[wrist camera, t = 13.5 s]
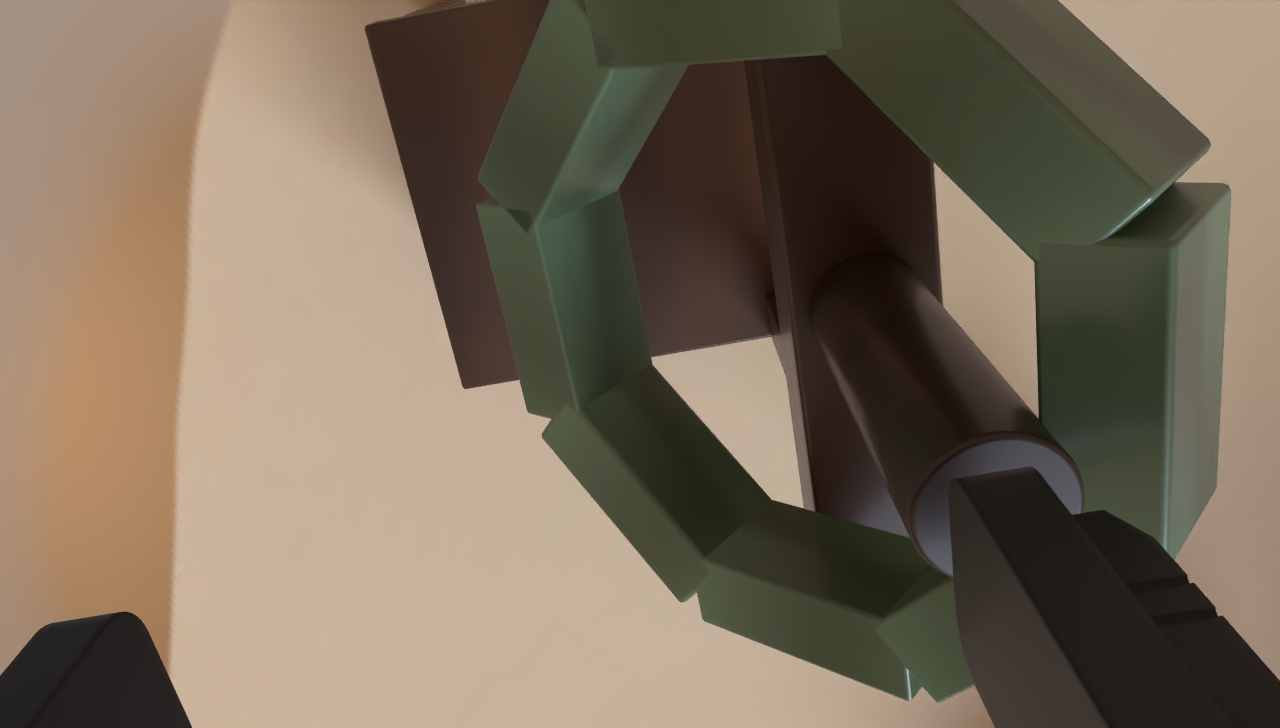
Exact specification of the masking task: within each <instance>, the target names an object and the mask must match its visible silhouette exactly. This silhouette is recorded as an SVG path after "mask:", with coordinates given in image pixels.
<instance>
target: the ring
mask: <svg viewBox="0 0 1280 728" xmlns="http://www.w3.org/2000/svg"><path fill="white" fill-rule="evenodd" d="M817 55H827V56H828V57H829V58H830V59H831V60H832V61H833V62H834V63H835V64H836V65H837V66H838V67H839V68H840V69H841V70H842V71H843V72H844V73H845V74H846V75H847V76H848V77H849V78H850V79H851V80H852V81H853V82H854V83H855V84H856V85H857V86H858V87H859V88H860V89H861V90H862V91H863V92H864V93H865V94H866V95H867V96H868V97H869V98H870V99H871V100H872V101H873V102H874V103H875V104H876V105H877V106H878V107H879V108H880V109H881V110H882V111H883V112H884V113H885V114H886V115H887V116H888V117H889V118H890V119H891V120H892V121H893V122H894V123H895V124H896V125H897V126H898V127H899V128H900V129H901V130H902V131H903V132H904V133H905V134H906V135H907V136H908V137H909V138H910V139H911V140H912V141H913V142H914V143H915V144H916V145H917V146H918V147H919V148H920V149H921V150H922V151H923V152H924V153H925V154H926V155H927V156H928V157H929V158H930V159H931V160H932V161H933V162H934V163H935V164H936V165H937V166H938V167H939V168H940V169H941V170H942V171H943V172H944V173H945V174H946V175H947V176H948V177H949V178H950V179H951V180H952V181H953V182H954V183H955V184H956V185H957V186H958V187H959V188H960V189H961V190H962V191H963V192H964V193H965V194H966V195H967V196H968V197H969V198H970V199H971V200H973V201H974V202H975V203H976V204H977V205H978V206H979V207H980V208H981V209H982V210H983V211H984V212H985V213H986V214H987V215H988V216H989V217H990V218H991V219H992V220H993V221H994V222H995V223H996V224H997V225H998V226H999V227H1000V228H1001V229H1002V230H1003V231H1004V232H1005V233H1006V234H1007V235H1008V236H1009V237H1010V238H1011V239H1012V240H1013V241H1014V242H1015V243H1016V244H1017V245H1018V246H1019V247H1020V248H1021V249H1022V250H1023V251H1024V252H1025V253H1026V254H1027V255H1028V256H1029V257H1030V258H1031V259H1032V260H1033V261H1034V263H1035V298H1036V333H1037V368H1038V403H1039V420H1040V421H1041V422H1042V424H1043V425H1044V426H1045V427H1046V428H1047V429H1048V431H1049V432H1050V433H1051V434H1052V435H1053V437H1054V438H1055V439H1056V440H1057V441H1058V442H1059V444H1060V445H1061V446H1062V447H1063V448H1064V449H1065V451H1066V452H1067V453H1068V454H1069V455H1070V457H1071V458H1072V459H1073V461H1074V462H1075V464H1076V465H1077V467H1078V469H1079V472H1080V474H1081V477H1082V481H1083V485H1084V509H1083V513H1086V512H1092V511H1098V510H1105V511H1107V512H1109V513H1111V514H1112V515H1114V516H1116V517H1118V518H1120V519H1121V520H1123V521H1125V522H1127V523H1129V524H1131V525H1132V526H1134V527H1136V528H1138V529H1140V530H1141V531H1143V532H1145V533H1147V534H1149V535H1151V536H1152V537H1154V538H1155V539H1156V540H1157V541H1158V542H1159V543H1160V545H1161V546H1162V547H1163V548H1164V549H1165V550H1166V551H1167V553H1168V554H1169V555H1170V556H1171V557H1172V558H1173V559H1175V557H1176V555H1177V554H1178V552H1179V550H1180V549H1181V547H1182V545H1183V544H1184V542H1185V540H1186V539H1187V537H1188V535H1189V533H1190V532H1191V530H1192V528H1193V527H1194V525H1195V523H1196V522H1197V520H1198V518H1199V517H1200V515H1201V513H1202V511H1203V510H1204V508H1205V506H1206V505H1207V503H1208V501H1209V500H1210V498H1211V496H1212V495H1213V493H1214V491H1215V489H1216V487H1217V467H1218V447H1219V427H1220V407H1221V387H1222V367H1223V347H1224V327H1225V307H1226V287H1227V267H1228V246H1229V226H1230V206H1231V190H1230V187H1229V185H1226V184H1223V183H1184V182H1175V181H1176V180H1177V179H1178V178H1180V177H1181V176H1182V175H1183V174H1184V173H1185V172H1186V171H1187V170H1188V169H1189V168H1190V167H1191V166H1193V165H1194V164H1195V163H1196V162H1197V161H1198V160H1199V159H1200V158H1201V157H1202V156H1203V155H1204V154H1205V153H1207V152H1208V150H1209V148H1210V146H1211V143H1210V141H1209V139H1208V138H1207V137H1206V136H1205V135H1204V134H1203V133H1202V132H1201V131H1199V130H1198V129H1197V128H1196V127H1195V126H1194V125H1193V124H1192V123H1191V122H1190V121H1189V120H1187V119H1186V118H1185V117H1184V116H1183V115H1182V114H1181V113H1180V112H1179V111H1178V110H1177V109H1176V108H1174V107H1173V106H1172V105H1171V104H1170V103H1169V102H1168V101H1167V100H1166V99H1165V98H1164V97H1162V96H1161V95H1160V94H1159V93H1158V92H1157V91H1156V90H1155V89H1154V88H1153V87H1152V86H1150V85H1149V84H1148V83H1147V82H1146V81H1145V80H1144V79H1143V78H1142V77H1141V76H1140V75H1139V74H1137V73H1136V72H1135V71H1134V70H1133V69H1132V68H1131V67H1130V66H1129V65H1128V64H1127V63H1125V62H1124V61H1123V60H1122V59H1121V58H1120V57H1119V56H1118V55H1117V54H1116V53H1115V52H1113V51H1112V50H1111V49H1110V48H1109V47H1108V46H1107V45H1106V44H1105V43H1104V42H1103V41H1102V40H1100V39H1099V38H1098V37H1097V36H1096V35H1095V34H1094V33H1093V32H1092V31H1091V30H1090V29H1088V28H1087V27H1086V26H1085V25H1084V24H1083V23H1082V22H1081V21H1080V20H1079V19H1078V18H1077V17H1075V16H1074V15H1073V14H1072V13H1071V12H1070V11H1069V10H1068V9H1067V8H1066V7H1065V6H1063V5H1062V4H1061V3H1060V2H1059V1H1058V0H550V1H549V3H548V5H547V8H546V10H545V13H544V15H543V18H542V20H541V23H540V25H539V27H538V30H537V32H536V35H535V37H534V40H533V42H532V45H531V47H530V50H529V52H528V54H527V57H526V59H525V62H524V64H523V67H522V69H521V72H520V74H519V76H518V79H517V81H516V84H515V86H514V89H513V91H512V94H511V96H510V98H509V101H508V103H507V106H506V108H505V111H504V113H503V116H502V118H501V120H500V123H499V125H498V128H497V130H496V133H495V135H494V138H493V140H492V143H491V145H490V147H489V150H488V152H487V155H486V157H485V160H484V162H483V165H482V167H481V169H480V172H479V174H478V180H479V182H480V183H481V184H482V185H483V186H484V187H485V188H486V190H487V191H488V192H489V193H490V194H491V195H492V196H493V197H492V198H489V199H487V200H484V201H482V202H479V203H478V204H477V205H476V208H477V212H478V216H479V220H480V224H481V228H482V232H483V236H484V240H485V244H486V248H487V252H488V256H489V260H490V264H491V268H492V272H493V276H494V280H495V284H496V288H497V292H498V296H499V300H500V304H501V308H502V312H503V316H504V320H505V324H506V328H507V332H508V336H509V340H510V344H511V348H512V352H513V356H514V360H515V364H516V368H517V372H518V376H519V380H520V384H521V388H522V392H523V396H524V400H525V404H526V408H527V411H528V412H529V413H531V414H534V415H538V416H542V417H546V418H550V419H551V421H550V422H549V424H548V425H547V427H546V428H545V430H544V431H543V433H542V438H543V439H544V441H545V442H546V443H547V444H548V445H549V447H550V448H551V449H552V450H553V451H554V452H555V454H556V455H557V456H558V457H559V458H560V460H561V461H562V462H563V463H564V464H565V466H566V467H567V468H568V469H569V470H570V472H571V473H572V474H573V475H574V476H575V478H576V479H577V480H578V481H579V482H580V483H581V485H582V486H583V487H584V488H585V489H586V491H587V492H588V493H589V494H590V495H591V497H592V498H593V499H594V500H595V501H596V503H597V504H598V505H599V506H600V507H601V509H602V510H603V511H604V512H605V513H606V515H607V516H608V517H609V518H610V519H611V520H612V522H613V523H614V524H615V525H616V526H617V528H618V529H619V530H620V531H621V532H622V534H623V535H624V536H625V537H626V538H627V540H628V541H629V542H630V543H631V544H632V546H633V547H634V548H635V549H636V550H637V551H638V553H639V554H640V555H641V556H642V557H643V559H644V560H645V561H646V562H647V563H648V565H649V566H650V567H651V568H652V569H653V571H654V572H655V573H656V574H657V575H658V577H659V578H660V579H661V580H662V581H663V583H664V584H665V585H666V586H667V587H668V588H669V590H670V591H671V592H672V593H673V594H674V596H675V597H676V598H677V599H678V600H679V601H680V602H686V601H687V600H688V599H690V598H691V597H692V596H693V595H694V594H695V593H697V594H698V599H699V604H700V610H701V615H702V619H703V620H704V621H705V622H707V623H710V624H713V625H715V626H718V627H720V628H723V629H725V630H728V631H730V632H733V633H735V634H738V635H741V636H743V637H746V638H748V639H751V640H753V641H756V642H758V643H761V644H764V645H766V646H769V647H771V648H774V649H776V650H779V651H781V652H784V653H786V654H789V655H792V656H794V657H797V658H799V659H802V660H804V661H807V662H809V663H812V664H814V665H817V666H820V667H822V668H825V669H827V670H830V671H832V672H835V673H837V674H840V675H843V676H845V677H848V678H850V679H853V680H855V681H858V682H860V683H863V684H865V685H868V686H871V687H873V688H876V689H878V690H881V691H883V692H886V693H888V694H891V695H894V696H896V697H899V698H901V699H904V700H906V701H910V700H912V699H913V698H914V696H915V695H916V694H917V692H918V691H919V690H920V689H921V687H922V686H923V688H924V689H925V690H926V691H927V692H928V693H929V694H930V696H931V697H932V698H933V699H934V700H935V701H936V702H938V703H940V702H942V701H944V700H946V699H948V698H950V697H953V696H955V695H957V694H959V693H961V692H963V691H965V690H967V689H969V688H971V687H974V686H975V684H974V681H973V679H972V677H971V674H970V672H969V669H968V666H967V663H966V659H965V656H964V652H963V649H962V645H961V640H960V636H959V630H958V625H957V618H956V607H955V593H954V578H951V577H949V576H947V575H945V574H943V573H941V572H939V571H937V570H936V569H935V568H933V567H932V566H930V565H929V564H928V563H927V562H926V561H925V560H924V559H923V558H922V557H921V555H920V554H919V553H918V551H917V550H916V548H915V546H914V544H913V543H912V541H911V538H909V537H905V536H901V535H898V534H894V533H890V532H887V531H883V530H880V529H876V528H872V527H869V526H865V525H861V524H858V523H854V522H850V521H847V520H843V519H840V518H836V517H832V516H829V515H825V514H821V513H818V512H814V511H811V510H807V509H803V508H800V507H796V506H792V505H789V504H785V503H781V502H778V501H774V500H771V499H770V497H769V496H768V495H767V494H766V493H765V492H764V491H763V489H762V488H761V487H760V486H759V485H758V484H757V483H756V482H755V480H754V479H753V478H752V477H751V476H750V475H749V474H748V472H747V471H746V470H745V469H744V468H743V467H742V466H741V465H740V463H739V462H738V461H737V460H736V459H735V458H734V457H733V455H732V454H731V453H730V452H729V451H728V450H727V449H726V448H725V446H724V445H723V444H722V443H721V442H720V441H719V440H718V438H717V437H716V436H715V435H714V434H713V433H712V432H711V431H710V429H709V428H708V427H707V426H706V425H705V424H704V423H703V421H702V420H701V419H700V418H699V417H698V416H697V415H696V414H695V412H694V411H693V410H692V409H691V408H690V407H689V406H688V404H687V403H686V402H685V401H684V400H683V399H682V398H681V397H680V395H679V394H678V393H677V392H676V391H675V390H674V389H673V387H672V386H671V385H670V384H669V383H668V382H667V381H666V380H665V378H664V377H663V376H662V375H661V374H660V373H659V372H658V370H657V369H656V368H655V367H654V366H653V365H652V360H651V355H650V349H649V344H648V339H647V334H646V329H645V323H644V318H643V313H642V308H641V303H640V297H639V292H638V287H637V282H636V277H635V271H634V266H633V261H632V256H631V251H630V245H629V240H628V235H627V230H626V225H625V219H624V214H623V209H622V204H621V199H620V193H619V187H620V185H621V184H622V182H623V180H624V178H625V177H626V175H627V173H628V171H629V170H630V168H631V166H632V164H633V162H634V161H635V159H636V157H637V155H638V154H639V152H640V150H641V148H642V147H643V145H644V143H645V141H646V140H647V138H648V136H649V134H650V133H651V131H652V129H653V127H654V126H655V124H656V122H657V120H658V118H659V117H660V115H661V113H662V111H663V110H664V108H665V106H666V104H667V103H668V101H669V99H670V97H671V96H672V94H673V92H674V90H675V89H676V87H677V85H678V83H679V81H680V80H681V78H682V76H683V74H684V73H685V71H686V69H687V67H688V66H689V65H693V64H707V63H721V62H735V61H748V60H762V59H776V58H789V57H803V56H817Z"/></svg>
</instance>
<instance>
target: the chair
mask: <svg viewBox="0 0 1280 728" xmlns="http://www.w3.org/2000/svg"><path fill="white" fill-rule="evenodd" d="M549 1H550V0H485V1H480V2H475V3H470V4H466V1H465V0H454V1H449V2H444V3H439V4H433V5H430V6H427V7H425V8H422V9H420V10H417V11H415V12H412V13H410V14H407V15H405V16H402V17H397V18H392V19H387V20H382V21H376V22H374V23H371V24H369V25H367V26H365V32H366V36H367V39H368V43H369V47H370V50H371V54H372V58H373V61H374V65H375V68H376V72H377V76H378V79H379V83H380V87H381V90H382V94H383V98H384V101H385V105H386V109H387V112H388V116H389V120H390V123H391V127H392V131H393V134H394V138H395V142H396V145H397V149H398V152H399V156H400V160H401V163H402V167H403V171H404V174H405V178H406V182H407V185H408V189H409V193H410V196H411V200H412V204H413V207H414V211H415V215H416V218H417V222H418V226H419V229H420V233H421V236H422V240H423V244H424V247H425V251H426V255H427V258H428V262H429V266H430V269H431V273H432V277H433V280H434V284H435V288H436V291H437V295H438V299H439V302H440V306H441V309H442V313H443V317H444V320H445V324H446V328H447V331H448V335H449V339H450V342H451V346H452V350H453V353H454V357H455V361H456V364H457V368H458V372H459V375H460V379H461V383H462V386H463V388H464V389H469V388H474V387H480V386H486V385H492V384H498V383H503V382H509V381H515V380H519V376H518V372H517V368H516V364H515V360H514V356H513V352H512V348H511V344H510V340H509V336H508V332H507V328H506V324H505V320H504V316H503V312H502V308H501V304H500V300H499V296H498V292H497V288H496V284H495V280H494V276H493V272H492V268H491V264H490V260H489V256H488V252H487V248H486V244H485V240H484V236H483V232H482V228H481V224H480V220H479V216H478V212H477V208H476V205H477V204H478V203H479V202H482V201H484V200H487V199H489V198H492V197H493V196H492V195H491V194H490V193H489V192H488V191H487V190H486V188H485V187H484V186H483V185H482V184H481V183H480V182H479V180H478V174H479V172H480V169H481V167H482V165H483V162H484V160H485V157H486V155H487V152H488V150H489V147H490V145H491V143H492V140H493V138H494V135H495V133H496V130H497V128H498V125H499V123H500V120H501V118H502V116H503V113H504V111H505V108H506V106H507V103H508V101H509V98H510V96H511V94H512V91H513V89H514V86H515V84H516V81H517V79H518V76H519V74H520V72H521V69H522V67H523V64H524V62H525V59H526V57H527V54H528V52H529V50H530V47H531V45H532V42H533V40H534V37H535V35H536V32H537V30H538V27H539V25H540V23H541V20H542V18H543V15H544V13H545V10H546V8H547V5H548V3H549ZM619 193H620V199H621V204H622V209H623V214H624V219H625V225H626V230H627V235H628V240H629V245H630V251H631V256H632V261H633V266H634V271H635V277H636V282H637V287H638V292H639V297H640V303H641V308H642V313H643V318H644V323H645V329H646V334H647V339H648V344H649V349H650V355H651V357H655V356H661V355H667V354H672V353H678V352H684V351H690V350H696V349H701V348H707V347H713V346H719V345H725V344H731V343H736V342H742V341H748V340H754V339H760V338H766V337H772V339H773V342H774V345H775V348H776V350H777V353H778V356H779V359H780V361H781V364H782V367H783V369H784V372H785V375H786V379H787V386H788V394H789V401H790V408H791V416H792V423H793V431H794V438H795V446H796V453H797V461H798V468H799V476H800V483H801V491H802V498H803V505H804V509H807V510H811V511H814V512H818V513H821V514H825V515H829V516H832V517H836V518H840V519H843V520H847V521H850V522H854V523H858V524H861V525H865V526H869V527H872V528H876V529H880V530H883V531H887V532H890V533H894V534H898V535H901V536H905V537H909V538H911V541H912V543H913V544H914V546H915V548H916V550H917V551H918V553H919V554H920V555H921V557H922V558H923V559H924V560H925V561H926V562H927V563H928V564H929V565H930V566H932V567H933V568H935V569H936V570H937V571H939V572H941V573H943V574H945V575H947V576H949V577H951V578H953V563H952V549H951V534H950V519H949V504H948V491H949V485H950V482H951V480H952V479H956V478H962V477H968V476H975V475H981V474H987V473H993V472H999V471H1005V470H1012V469H1018V468H1024V467H1034V468H1035V469H1036V470H1038V472H1039V473H1040V474H1041V475H1042V476H1043V478H1044V479H1045V480H1046V482H1047V483H1048V484H1049V486H1050V487H1051V488H1052V489H1053V491H1054V492H1055V493H1056V495H1057V496H1058V497H1059V499H1060V500H1061V501H1062V502H1063V504H1064V505H1065V506H1066V508H1067V509H1068V510H1069V512H1070V513H1071V514H1072V515H1073V514H1079V513H1083V509H1084V485H1083V481H1082V477H1081V474H1080V472H1079V469H1078V467H1077V465H1076V464H1075V462H1074V461H1073V459H1072V458H1071V457H1070V455H1069V454H1068V453H1067V452H1066V451H1065V449H1064V448H1063V447H1062V446H1061V445H1060V444H1059V442H1058V441H1057V440H1056V439H1055V438H1054V437H1053V435H1052V434H1051V433H1050V432H1049V431H1048V429H1047V428H1046V427H1045V426H1044V425H1043V424H1042V422H1041V421H1040V420H1039V419H1038V418H1037V417H1036V415H1035V414H1034V413H1033V412H1032V411H1031V409H1030V408H1029V407H1028V406H1027V405H1026V404H1025V402H1024V401H1023V400H1022V399H1021V398H1020V397H1019V395H1018V394H1017V393H1016V392H1015V391H1014V389H1013V388H1012V387H1011V386H1010V385H1009V384H1008V382H1007V381H1006V380H1005V379H1004V378H1003V377H1002V375H1001V374H1000V373H999V372H998V371H997V369H996V368H995V367H994V366H993V365H992V364H991V362H990V361H989V360H988V359H987V358H986V357H985V355H984V354H983V353H982V352H981V351H980V349H979V348H978V347H977V346H976V345H975V344H974V342H973V341H972V340H971V339H970V338H969V336H968V335H967V334H966V333H965V332H964V331H963V329H962V328H961V327H960V326H959V325H958V324H957V322H956V321H955V320H954V319H953V318H952V316H951V315H950V314H949V313H948V312H947V311H946V309H945V308H944V307H943V299H942V284H941V268H940V253H939V237H938V222H937V207H936V191H935V176H934V162H933V161H932V160H931V159H930V158H929V157H928V156H927V155H926V154H925V153H924V152H923V151H922V150H921V149H920V148H919V147H918V146H917V145H916V144H915V143H914V142H913V141H912V140H911V139H910V138H909V137H908V136H907V135H906V134H905V133H904V132H903V131H902V130H901V129H900V128H899V127H898V126H897V125H896V124H895V123H894V122H893V121H892V120H891V119H890V118H889V117H888V116H887V115H886V114H885V113H884V112H883V111H882V110H881V109H880V108H879V107H878V106H877V105H876V104H875V103H874V102H873V101H872V100H871V99H870V98H869V97H868V96H867V95H866V94H865V93H864V92H863V91H862V90H861V89H860V88H859V87H858V86H857V85H856V84H855V83H854V82H853V81H852V80H851V79H850V78H849V77H848V76H847V75H846V74H845V73H844V72H843V71H842V70H841V69H840V68H839V67H838V66H837V65H836V64H835V63H834V62H833V61H832V60H831V59H830V58H829V57H828V56H827V55H817V56H803V57H789V58H776V59H762V60H748V61H735V62H721V63H707V64H693V65H689V66H688V67H687V69H686V71H685V73H684V74H683V76H682V78H681V80H680V81H679V83H678V85H677V87H676V89H675V90H674V92H673V94H672V96H671V97H670V99H669V101H668V103H667V104H666V106H665V108H664V110H663V111H662V113H661V115H660V117H659V118H658V120H657V122H656V124H655V126H654V127H653V129H652V131H651V133H650V134H649V136H648V138H647V140H646V141H645V143H644V145H643V147H642V148H641V150H640V152H639V154H638V155H637V157H636V159H635V161H634V162H633V164H632V166H631V168H630V170H629V171H628V173H627V175H626V177H625V178H624V180H623V182H622V184H621V185H620V187H619Z"/></svg>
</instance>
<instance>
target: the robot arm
mask: <svg viewBox="0 0 1280 728" xmlns="http://www.w3.org/2000/svg"><path fill="white" fill-rule="evenodd" d="M948 504H949V519H950V534H951V549H952V563H953V578H954V593H955V607H956V618H957V625H958V630H959V636H960V640H961V645H962V649H963V652H964V656H965V659H966V663H967V666H968V669H969V672H970V674H971V677H972V679H973V681H974V684H975V686H976V688H977V690H978V692H979V694H980V697H981V699H982V701H983V703H984V705H985V707H986V709H987V712H988V714H989V716H990V718H991V720H992V722H993V724H994V727H995V728H1280V681H1279V680H1278V678H1277V677H1276V676H1275V675H1274V674H1273V673H1272V672H1271V670H1270V669H1269V668H1268V667H1267V666H1266V665H1265V664H1264V662H1263V661H1262V660H1261V659H1260V658H1259V657H1258V656H1257V654H1256V653H1255V652H1254V651H1253V650H1252V649H1251V648H1250V646H1249V645H1248V644H1247V643H1246V642H1245V641H1244V640H1243V638H1242V637H1241V636H1240V635H1239V634H1238V633H1237V632H1236V630H1235V629H1234V628H1233V627H1232V626H1231V625H1230V624H1229V622H1228V621H1227V620H1226V619H1225V618H1224V617H1223V616H1218V615H1217V613H1216V610H1215V606H1214V605H1213V604H1212V603H1211V602H1210V601H1209V600H1208V598H1207V597H1206V596H1205V595H1204V594H1203V593H1202V592H1201V590H1200V589H1199V588H1198V587H1197V586H1196V585H1195V583H1189V581H1188V578H1187V574H1186V573H1185V572H1184V571H1183V570H1182V569H1181V567H1180V566H1179V565H1178V564H1177V563H1176V562H1175V561H1174V559H1173V558H1172V557H1171V556H1170V555H1169V554H1168V553H1167V551H1166V550H1165V549H1164V548H1163V547H1162V546H1161V545H1160V543H1159V542H1158V541H1157V540H1156V539H1155V538H1154V537H1152V536H1151V535H1149V534H1147V533H1145V532H1143V531H1141V530H1140V529H1138V528H1136V527H1134V526H1132V525H1131V524H1129V523H1127V522H1125V521H1123V520H1121V519H1120V518H1118V517H1116V516H1114V515H1112V514H1111V513H1109V512H1107V511H1105V510H1098V511H1092V512H1086V513H1079V514H1073V515H1072V514H1071V513H1070V512H1069V510H1068V509H1067V508H1066V506H1065V505H1064V504H1063V502H1062V501H1061V500H1060V499H1059V497H1058V496H1057V495H1056V493H1055V492H1054V491H1053V489H1052V488H1051V487H1050V486H1049V484H1048V483H1047V482H1046V480H1045V479H1044V478H1043V476H1042V475H1041V474H1040V473H1039V472H1038V470H1036V469H1035V468H1034V467H1024V468H1018V469H1012V470H1005V471H999V472H993V473H987V474H981V475H975V476H968V477H962V478H956V479H952V480H951V482H950V485H949V491H948ZM0 728H192V726H191V724H190V722H189V720H188V717H187V715H186V713H185V711H184V709H183V706H182V704H181V702H180V700H179V698H178V695H177V693H176V691H175V689H174V687H173V685H172V682H171V680H170V678H169V676H168V674H167V671H166V669H165V667H164V665H163V663H162V660H161V659H160V656H159V654H158V652H157V650H156V647H155V645H154V643H153V641H152V639H151V636H150V634H149V632H148V630H147V628H146V626H145V625H144V624H143V622H142V621H141V620H140V619H139V618H138V617H137V616H136V615H134V614H132V613H129V612H118V613H111V614H106V615H99V616H94V617H87V618H81V619H74V620H68V621H62V622H56V623H51V624H48V625H46V626H44V627H43V628H41V629H40V630H39V631H38V632H37V633H36V634H35V635H34V636H33V637H32V638H31V640H30V641H29V642H28V643H27V644H26V646H25V647H24V648H23V649H22V650H21V652H20V653H19V654H18V655H17V656H16V658H15V659H14V660H13V661H12V662H11V664H10V665H9V666H8V667H7V669H6V670H5V671H4V672H3V673H2V674H1V676H0Z"/></svg>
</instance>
